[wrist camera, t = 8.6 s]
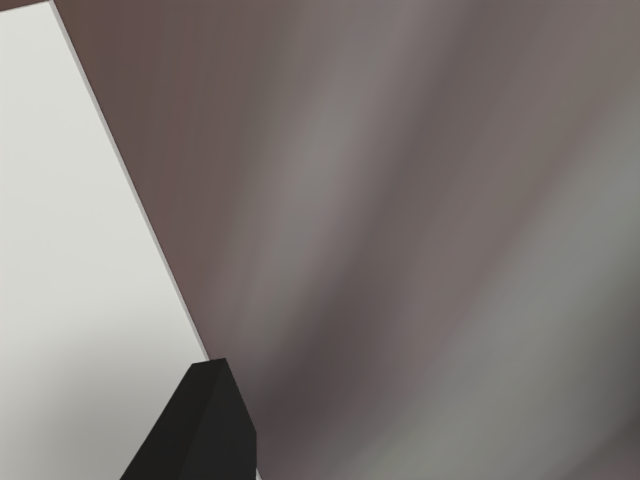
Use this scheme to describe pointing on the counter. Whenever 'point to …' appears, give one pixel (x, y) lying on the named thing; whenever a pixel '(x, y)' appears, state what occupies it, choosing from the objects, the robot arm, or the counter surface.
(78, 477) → the t mat
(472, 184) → the counter surface
